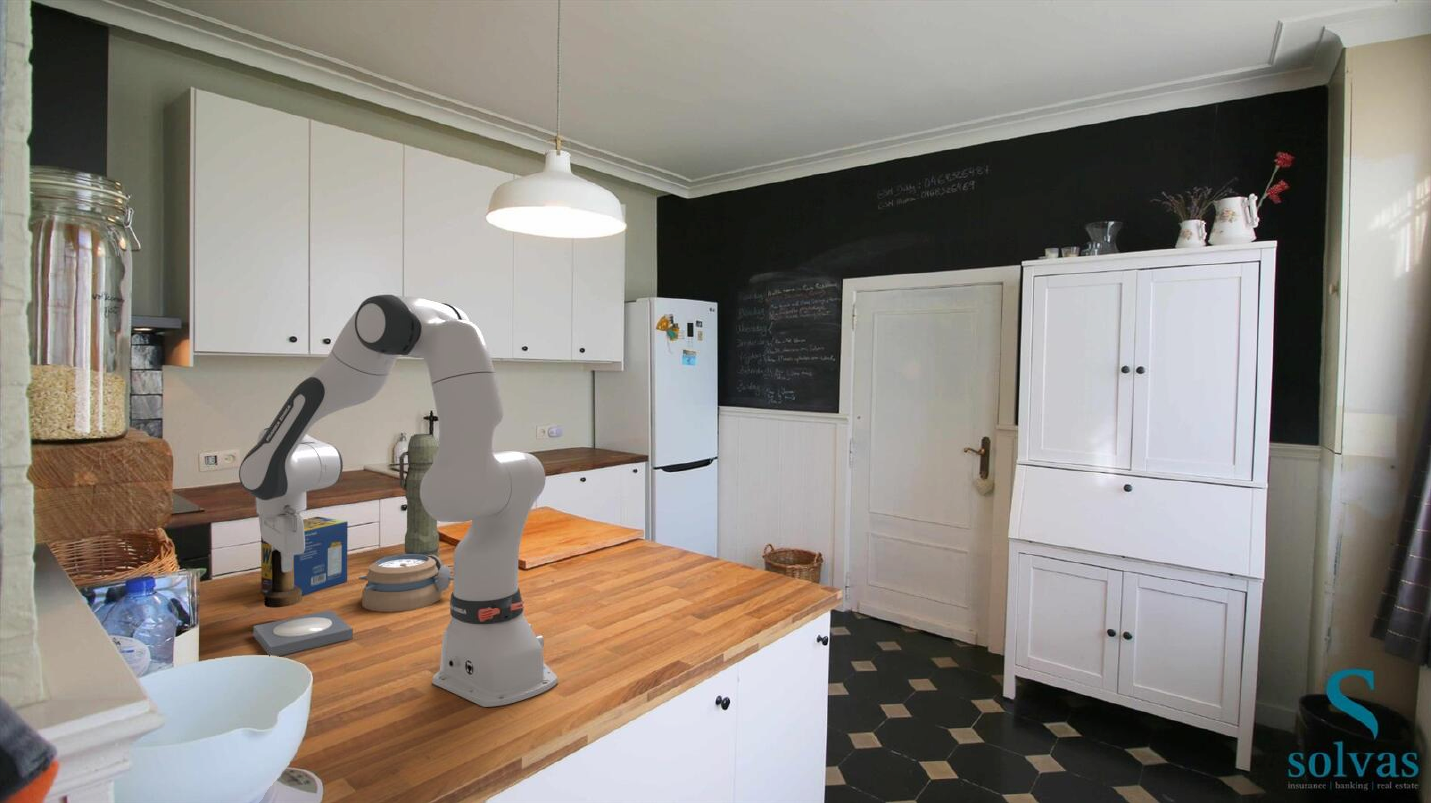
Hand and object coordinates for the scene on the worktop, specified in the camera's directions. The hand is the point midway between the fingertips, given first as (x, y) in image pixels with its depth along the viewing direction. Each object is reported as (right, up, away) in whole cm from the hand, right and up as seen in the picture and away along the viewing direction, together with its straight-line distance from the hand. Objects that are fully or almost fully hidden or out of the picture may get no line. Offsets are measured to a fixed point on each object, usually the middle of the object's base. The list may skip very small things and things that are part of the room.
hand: (282, 568), depth 144 cm
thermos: (+7, -10, +51) cm, 52 cm away
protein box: (-9, -10, +23) cm, 27 cm away
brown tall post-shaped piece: (0, -7, 0) cm, 8 cm away
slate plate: (+9, -12, -7) cm, 16 cm away
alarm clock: (+20, -11, +18) cm, 29 cm away
